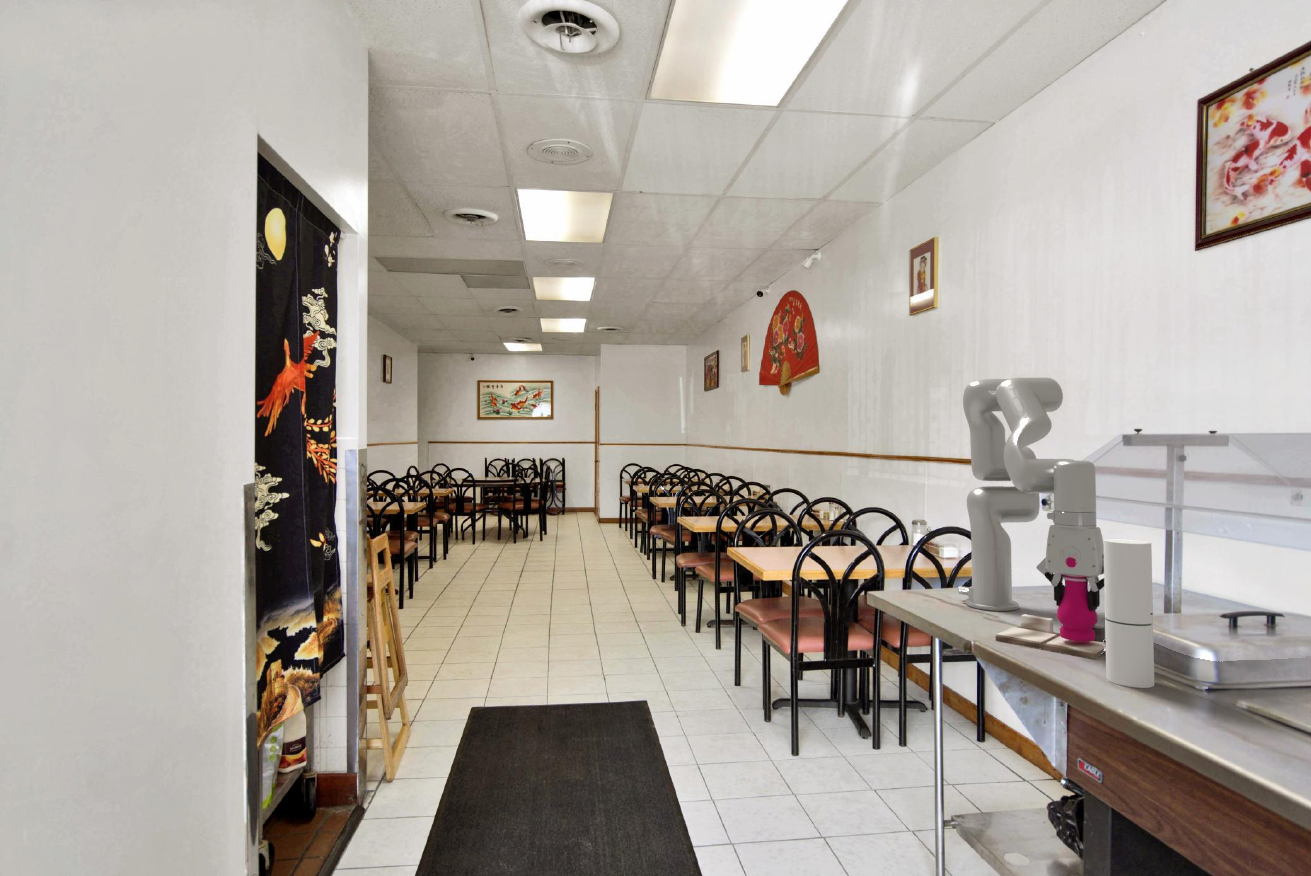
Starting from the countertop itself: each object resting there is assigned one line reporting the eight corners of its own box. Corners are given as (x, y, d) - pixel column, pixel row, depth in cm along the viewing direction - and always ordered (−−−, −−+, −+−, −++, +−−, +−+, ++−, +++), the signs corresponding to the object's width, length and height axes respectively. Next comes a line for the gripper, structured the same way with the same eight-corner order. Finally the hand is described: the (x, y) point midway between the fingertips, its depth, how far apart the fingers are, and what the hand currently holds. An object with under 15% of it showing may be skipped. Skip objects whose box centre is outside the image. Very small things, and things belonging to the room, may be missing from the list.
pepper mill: (1105, 642, 141) (1103, 543, 142) (1069, 642, 142) (1067, 543, 142) (1084, 633, 149) (1082, 538, 149) (1050, 633, 149) (1048, 539, 149)
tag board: (995, 640, 152) (995, 620, 153) (1018, 630, 161) (1017, 611, 161) (1094, 659, 138) (1094, 636, 138) (1113, 647, 146) (1113, 626, 146)
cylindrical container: (1158, 681, 125) (1155, 541, 126) (1148, 690, 120) (1145, 544, 121) (1112, 672, 130) (1109, 537, 131) (1101, 680, 125) (1098, 541, 126)
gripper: (1024, 518, 149) (1025, 603, 149) (1117, 524, 137) (1118, 617, 136) (1037, 515, 154) (1039, 598, 154) (1128, 521, 142) (1130, 611, 141)
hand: (1076, 606), depth 145 cm, fingers closed on pepper mill, 5 cm apart
